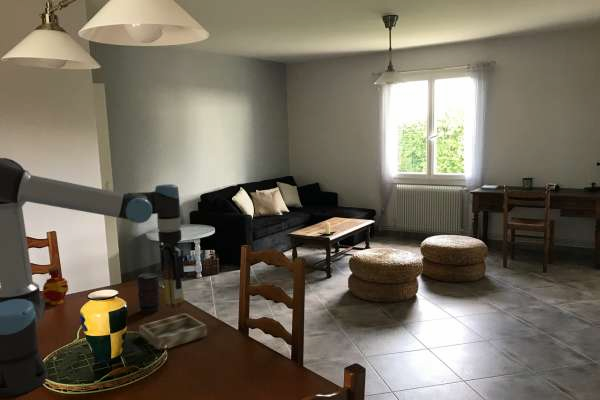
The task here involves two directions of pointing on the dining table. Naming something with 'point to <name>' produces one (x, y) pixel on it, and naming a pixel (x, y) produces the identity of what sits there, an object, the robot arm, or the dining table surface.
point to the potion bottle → (55, 287)
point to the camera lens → (148, 292)
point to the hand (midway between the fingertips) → (173, 295)
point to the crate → (173, 330)
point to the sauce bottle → (170, 285)
